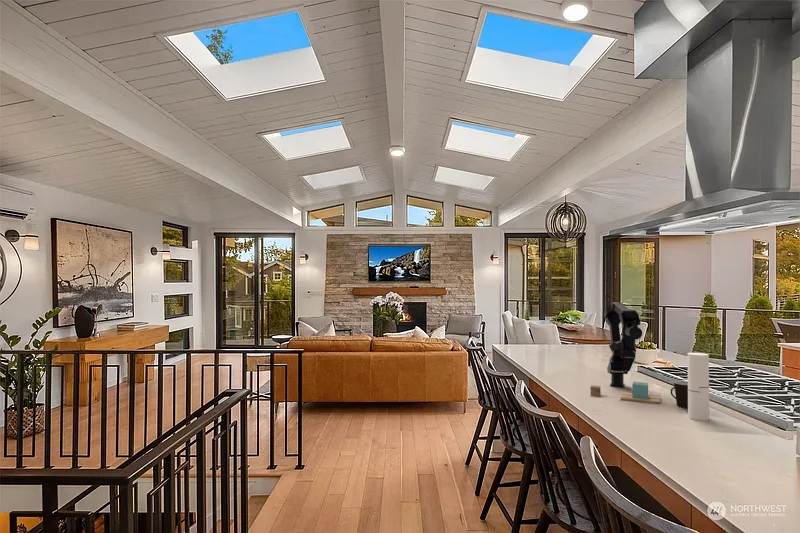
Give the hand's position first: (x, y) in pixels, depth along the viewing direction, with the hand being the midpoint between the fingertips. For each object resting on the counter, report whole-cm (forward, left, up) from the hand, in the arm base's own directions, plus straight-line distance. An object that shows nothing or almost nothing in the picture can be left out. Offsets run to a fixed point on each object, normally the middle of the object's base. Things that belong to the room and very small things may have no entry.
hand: (628, 369), depth 242 cm
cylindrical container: (+33, +26, -12) cm, 44 cm away
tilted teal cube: (+8, +5, -11) cm, 14 cm away
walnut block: (+9, -14, -12) cm, 20 cm away
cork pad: (+8, +5, -11) cm, 15 cm away
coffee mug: (+16, +21, -12) cm, 29 cm away
